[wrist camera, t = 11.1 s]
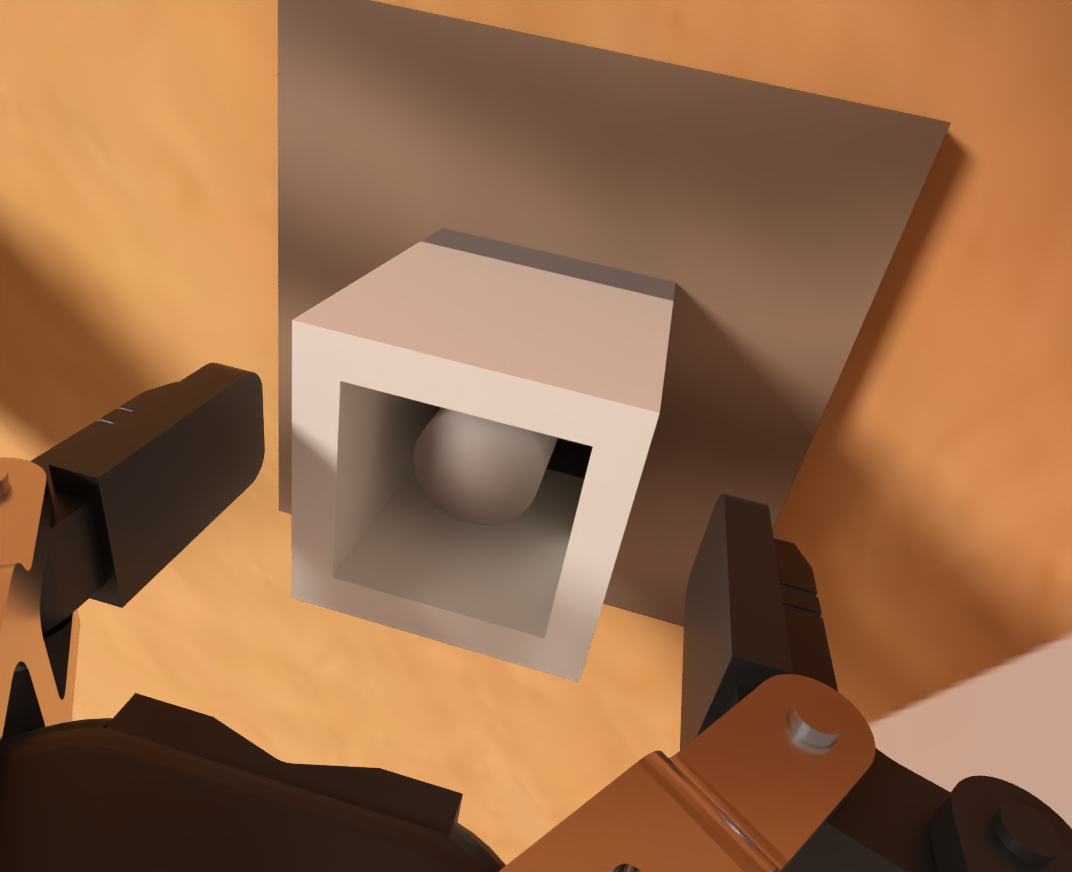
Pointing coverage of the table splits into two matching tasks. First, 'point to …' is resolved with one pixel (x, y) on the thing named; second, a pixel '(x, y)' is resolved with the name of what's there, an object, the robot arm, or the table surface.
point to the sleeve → (488, 392)
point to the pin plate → (598, 239)
